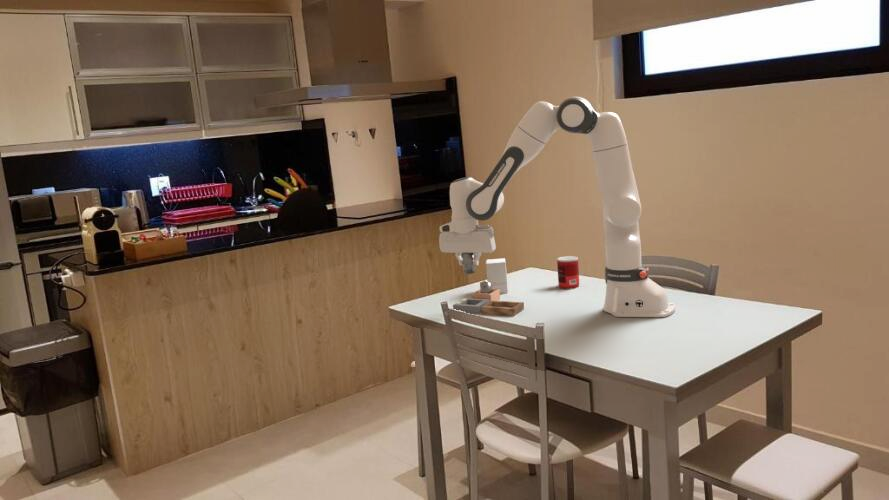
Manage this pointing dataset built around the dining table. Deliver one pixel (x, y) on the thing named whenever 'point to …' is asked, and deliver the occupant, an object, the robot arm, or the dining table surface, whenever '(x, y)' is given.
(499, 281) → the supplement box
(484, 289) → the cell
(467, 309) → the grey square tray
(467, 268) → the cell
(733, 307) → the dining table surface
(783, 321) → the dining table surface
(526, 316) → the dining table surface
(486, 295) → the pink square tray
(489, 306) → the trough
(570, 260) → the canned food
